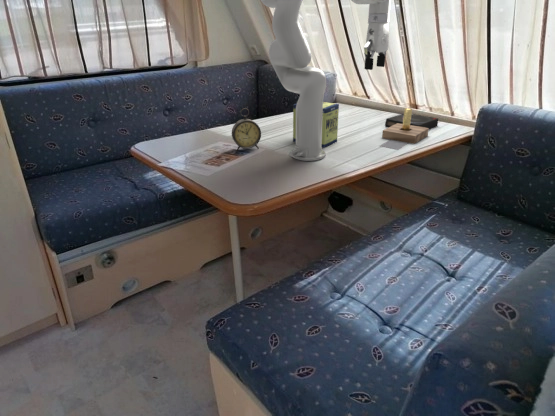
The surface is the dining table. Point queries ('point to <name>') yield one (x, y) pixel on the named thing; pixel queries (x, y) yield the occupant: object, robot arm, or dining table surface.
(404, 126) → the pin
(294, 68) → the robot arm
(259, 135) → the alarm clock
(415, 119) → the portable cd player
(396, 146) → the mat
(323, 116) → the protein box
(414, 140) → the block
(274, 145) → the dining table surface
